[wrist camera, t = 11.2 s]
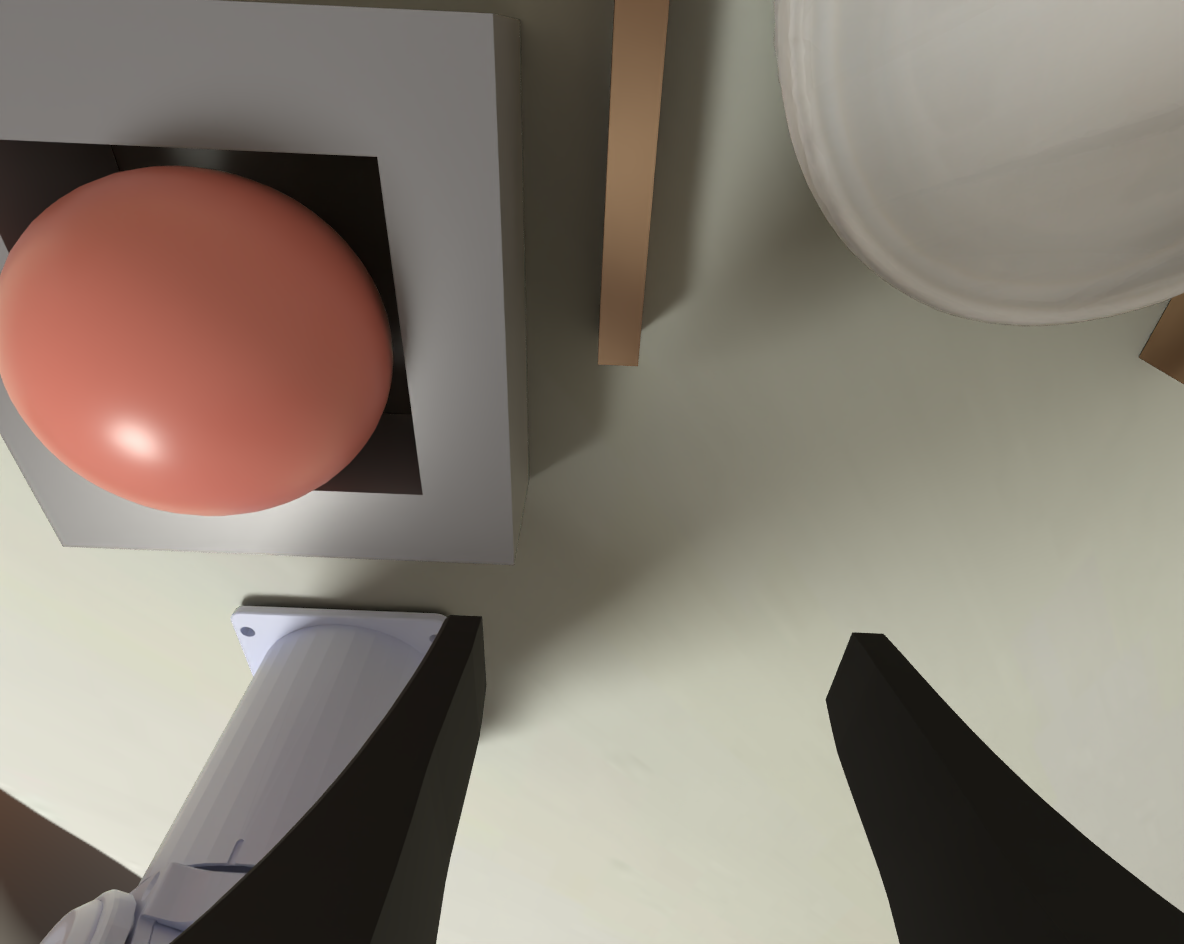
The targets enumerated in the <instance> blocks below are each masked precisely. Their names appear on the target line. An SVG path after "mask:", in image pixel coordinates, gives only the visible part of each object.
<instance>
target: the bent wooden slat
mask: <svg viewBox="0 0 1184 944" xmlns="http://www.w3.org/2000/svg"><path fill="white" fill-rule="evenodd" d="M668 11H669V0H614V20H613V41H612V62H611V83H610V104H609V125H608V147H607V168H606V189H605V210H604V231H603V252H602V273H601V294H600V316H599V340H598V364H600V365H623V366H638V360H639V348H640V336H641V325H642V313H643V302H644V290H645V278H646V267H647V255H648V244H649V232H650V220H651V209H652V197H653V185H654V174H655V162H656V151H657V139H658V127H659V116H660V104H661V93H662V81H663V69H664V58H665V46H666V35H667V23H668ZM1139 358H1140V359H1142V360H1144V361H1146V362H1147V363H1149V364H1151V365H1152V366H1154V367H1156V368H1157V369H1159V370H1161V371H1162V372H1164V373H1166V374H1167V375H1169V376H1171V377H1172V378H1174V379H1176V380H1177V381H1179V382H1181V383H1182V384H1184V293H1182V294H1180V295H1178V296H1175V297H1173V298H1172V299H1171V301H1170V302H1169V304H1168V306H1167V308H1166V310H1165V311H1164V313H1163V315H1162V317H1161V319H1160V320H1159V322H1158V324H1157V326H1156V328H1155V329H1154V331H1153V333H1152V335H1151V336H1150V338H1149V340H1148V342H1147V344H1146V345H1145V347H1144V349H1143V351H1142V353H1141V354H1140V356H1139Z"/></svg>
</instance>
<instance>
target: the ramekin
mask: <svg viewBox="0 0 1184 944" xmlns="http://www.w3.org/2000/svg"><path fill="white" fill-rule="evenodd" d="M774 14H775V29H774V47H775V52H776V56H777V64H778V79H779V83H780V85H781V89H782V97H783V103H784V108H785V113H786V119H787V124H788V128H789V133H790V137H791V140H792V144H793V147H794V151H795V154H796V157H797V160H798V162H799V165H800V167H801V170H802V172H803V175H804V177H805V180H806V182H807V184H808V187H809V188H810V190H811V192H812V194H813V196H814V198H815V200H816V202H817V204H818V206H819V207H820V209H821V211H822V213H823V214H824V216H825V218H826V219H827V221H828V222H829V223H830V225H831V226H832V228H833V229H834V231H835V232H836V233H837V235H838V236H839V238H840V239H841V240H842V241H843V242H844V244H845V245H846V246H847V247H848V248H849V249H850V251H851V252H852V253H853V254H854V255H856V256H857V257H858V258H859V259H860V260H861V261H862V262H863V263H864V264H865V265H866V266H867V267H868V268H869V269H870V270H872V271H873V272H874V273H876V274H877V275H878V276H879V277H881V278H882V279H883V280H884V281H886V282H887V283H889V284H890V285H892V286H893V287H895V288H896V289H898V290H900V291H901V292H903V293H905V294H906V295H908V296H910V297H911V298H913V299H915V300H917V301H919V302H921V303H923V304H926V305H928V306H930V307H932V308H935V309H937V310H940V311H942V312H945V313H948V314H951V315H954V316H958V317H962V318H966V319H971V320H976V321H981V322H986V323H993V324H1004V325H1017V326H1048V325H1059V324H1070V323H1077V322H1083V321H1089V320H1094V319H1100V318H1105V317H1110V316H1115V315H1120V314H1123V313H1127V312H1130V311H1134V310H1138V309H1141V308H1144V307H1148V306H1151V305H1154V304H1157V303H1160V302H1163V301H1165V300H1168V299H1170V298H1173V297H1175V296H1178V295H1180V294H1182V293H1184V0H774Z"/></svg>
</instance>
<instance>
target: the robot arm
mask: <svg viewBox="0 0 1184 944" xmlns="http://www.w3.org/2000/svg"><path fill="white" fill-rule="evenodd" d="M231 622H232V624H233V627H234V629H235V632H236V634H237V637H238V640H239V642H240V645H241V647H242V650H243V652H244V655H245V657H246V660H247V662H248V665H249V667H250V670H251V672H252V675H253V679H252V680H251V682H250V684H249V686H248V688H247V690H246V691H245V693H244V695H243V697H242V699H241V700H240V702H239V704H238V706H237V708H236V709H235V711H234V713H233V715H232V717H231V719H230V720H229V722H228V724H227V726H226V728H225V729H224V731H223V733H222V735H221V737H220V738H219V740H218V742H217V744H216V746H215V748H214V749H213V751H212V753H211V755H210V757H209V758H208V760H207V762H206V764H205V766H204V767H203V769H202V771H201V773H200V775H199V776H198V778H197V780H196V782H195V784H194V786H193V787H192V789H191V791H190V793H189V795H188V796H187V798H186V800H185V802H184V804H183V805H182V807H181V809H180V811H179V813H178V815H177V816H176V818H175V820H174V822H173V824H172V825H171V827H170V829H169V831H168V833H167V834H166V836H165V838H164V840H163V842H162V844H161V845H160V847H159V849H158V851H157V853H156V854H155V856H154V858H153V860H152V862H151V863H150V865H149V867H148V869H147V871H146V873H145V874H144V876H143V878H142V880H141V882H140V884H139V885H138V887H137V888H136V889H134V890H133V891H132V892H131V893H129V894H128V893H125V892H122V891H119V890H110V891H107V892H105V893H103V894H101V895H100V896H99V897H97V898H96V899H95V900H93V901H91V902H89V903H86V904H84V905H82V906H80V907H78V908H76V909H74V910H72V911H70V912H69V913H68V914H67V915H65V916H64V917H63V918H62V919H61V920H60V921H59V922H58V923H57V924H56V925H55V926H54V928H53V929H52V930H51V931H50V932H49V934H48V935H47V936H46V937H45V938H44V939H43V941H42V942H41V943H40V944H436V939H437V933H438V927H439V920H440V914H441V907H442V901H443V894H444V888H445V882H446V877H447V872H448V867H449V862H450V857H451V853H452V849H453V845H454V841H455V836H456V832H457V828H458V824H459V820H460V816H461V812H462V808H463V804H464V799H465V795H466V791H467V787H468V783H469V779H470V775H471V770H472V766H473V762H474V758H475V754H476V750H477V745H478V741H479V736H480V729H481V722H482V715H483V707H484V699H485V692H486V673H485V657H484V641H483V625H482V617H480V616H457V615H450V616H449V617H446V616H444V615H441V614H437V613H413V612H388V611H363V610H339V609H314V608H289V607H264V606H240V607H238V608H236V610H235V611H234V613H233V614H232V616H231ZM435 634H436V635H435ZM826 703H827V708H828V713H829V718H830V723H831V728H832V732H833V736H834V740H835V744H836V749H837V753H838V755H839V758H840V761H841V764H842V767H843V770H844V773H845V776H846V779H847V782H848V784H849V787H850V790H851V793H852V796H853V799H854V801H855V804H856V807H857V810H858V813H859V815H860V818H861V821H862V824H863V827H864V829H865V832H866V835H867V838H868V841H869V843H870V846H871V849H872V852H873V855H874V857H875V860H876V863H877V866H878V868H879V871H880V874H881V878H882V881H883V884H884V887H885V890H886V893H887V897H888V900H889V904H890V908H891V912H892V916H893V919H894V923H895V927H896V931H897V935H898V939H899V943H900V944H1184V913H1183V912H1181V911H1180V910H1179V909H1177V908H1176V907H1175V906H1173V905H1172V904H1171V903H1169V902H1168V901H1167V900H1165V899H1164V898H1162V897H1161V896H1160V895H1158V894H1157V893H1156V892H1155V891H1153V890H1152V889H1151V888H1149V887H1148V886H1147V885H1146V884H1144V883H1143V882H1142V881H1140V880H1139V879H1138V878H1137V877H1135V876H1134V875H1133V874H1131V873H1130V872H1129V871H1128V870H1126V869H1125V868H1124V867H1123V866H1121V865H1120V864H1119V863H1117V862H1116V861H1115V860H1114V859H1112V858H1111V857H1110V856H1109V855H1107V854H1106V853H1105V852H1104V851H1102V850H1101V849H1100V848H1099V847H1098V846H1096V845H1095V844H1094V843H1093V842H1091V841H1090V840H1089V839H1088V838H1087V837H1086V836H1084V835H1083V834H1082V833H1081V832H1080V831H1079V830H1077V829H1076V828H1075V827H1074V826H1073V825H1072V824H1071V823H1069V822H1068V821H1067V820H1066V819H1065V818H1064V817H1062V816H1061V815H1060V814H1059V813H1058V812H1057V811H1056V810H1054V809H1053V808H1052V807H1051V806H1050V805H1049V804H1048V803H1046V802H1045V801H1044V800H1043V799H1042V798H1041V797H1040V796H1039V795H1038V794H1037V793H1035V792H1034V791H1033V790H1032V789H1031V788H1030V787H1029V786H1028V785H1027V784H1026V783H1025V782H1024V781H1023V780H1022V779H1021V778H1020V777H1019V776H1017V775H1016V774H1015V773H1014V772H1013V771H1012V770H1011V769H1010V768H1009V767H1008V766H1007V765H1006V764H1005V763H1004V762H1003V761H1002V760H1001V759H1000V758H999V757H998V756H997V755H996V754H995V753H994V752H993V751H992V750H991V749H990V748H989V747H988V746H987V745H986V744H985V743H984V742H983V741H982V740H981V739H980V738H979V737H978V736H977V735H976V734H975V733H974V732H973V731H972V730H971V729H970V728H969V727H968V726H967V725H966V724H965V722H964V721H963V720H962V719H961V718H960V717H959V716H958V715H957V714H956V713H955V712H954V711H953V710H952V709H951V708H950V707H949V705H948V704H947V703H946V702H945V701H944V700H943V699H942V698H941V697H940V696H939V695H938V693H937V692H936V691H935V690H934V689H933V688H932V687H931V686H930V685H929V684H928V682H927V681H926V680H925V679H924V678H923V677H922V676H921V675H920V674H919V673H918V671H917V670H916V669H915V668H914V667H913V666H912V665H911V664H910V662H909V661H908V660H907V659H906V658H905V657H904V656H903V655H902V654H901V652H900V651H899V650H898V649H897V648H896V647H895V646H894V645H893V644H892V643H891V641H890V640H889V639H888V638H887V637H886V636H885V635H884V634H875V633H852V635H851V637H850V640H849V642H848V645H847V647H846V650H845V652H844V655H843V657H842V660H841V662H840V665H839V667H838V670H837V672H836V675H835V677H834V680H833V682H832V685H831V688H830V690H829V693H828V695H827V698H826Z"/></svg>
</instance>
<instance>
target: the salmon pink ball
mask: <svg viewBox="0 0 1184 944" xmlns="http://www.w3.org/2000/svg"><path fill="white" fill-rule="evenodd" d="M392 372H393V346H392V336H391V331H390V326H389V321H388V316H387V313H386V310H385V307H384V304H383V301H382V298H381V296H380V294H379V292H378V290H377V287H376V285H375V283H374V281H373V279H372V277H371V276H370V274H369V273H368V271H367V269H366V268H365V266H364V265H363V263H362V262H361V260H360V259H359V257H358V256H357V255H356V254H355V252H354V251H353V250H352V249H351V247H350V246H349V245H348V244H347V242H346V241H345V240H344V239H343V238H342V237H341V236H340V235H339V234H338V233H337V232H336V231H335V230H334V229H333V228H332V227H331V226H330V225H328V224H327V223H326V222H325V221H324V220H322V219H321V218H320V217H319V216H318V215H316V214H315V213H314V212H313V211H311V210H310V209H308V208H307V207H305V206H304V205H302V204H301V203H299V202H298V201H296V200H295V199H293V198H291V197H289V196H287V195H285V194H283V193H282V192H280V191H278V190H276V189H274V188H272V187H269V186H267V185H264V184H261V183H259V182H256V181H253V180H251V179H248V178H245V177H243V176H240V175H236V174H232V173H228V172H224V171H220V170H216V169H207V168H199V167H189V166H152V167H145V168H139V169H133V170H128V171H122V172H117V173H113V174H111V175H108V176H105V177H103V178H100V179H97V180H95V181H92V182H90V183H87V184H85V185H82V186H80V187H78V188H76V189H74V190H73V191H71V192H70V193H68V194H66V195H65V196H63V197H61V198H60V199H58V200H57V201H56V202H54V203H53V204H52V205H50V206H49V207H48V208H46V209H45V210H44V211H43V212H42V213H41V214H40V215H39V216H38V217H37V218H36V219H34V220H33V221H32V222H31V224H30V225H29V226H28V227H27V229H26V230H25V231H24V232H23V234H22V235H21V236H20V238H19V239H18V241H17V242H16V244H15V245H14V246H13V248H12V249H11V251H10V253H9V255H8V257H7V260H6V262H5V264H4V267H3V269H2V272H1V274H0V374H1V378H2V381H3V384H4V386H5V388H6V390H7V393H8V395H9V397H10V399H11V401H12V403H13V404H14V406H15V408H16V409H17V411H18V413H19V414H20V416H21V417H22V419H23V420H24V421H25V423H26V424H27V425H28V427H29V428H30V429H31V431H32V432H33V433H34V434H35V436H36V437H37V438H38V439H39V440H40V441H41V442H42V443H43V445H44V446H45V447H46V448H47V449H48V450H49V451H50V452H51V453H52V454H54V455H55V456H56V457H57V458H58V459H59V460H60V461H61V462H63V463H64V464H65V465H66V466H68V467H69V468H70V469H71V470H73V471H74V472H76V473H77V474H79V475H80V476H82V477H83V478H85V479H86V480H88V481H89V482H91V483H93V484H95V485H96V486H98V487H100V488H102V489H104V490H106V491H108V492H110V493H112V494H115V495H117V496H119V497H121V498H124V499H126V500H129V501H132V502H134V503H137V504H140V505H142V506H146V507H150V508H153V509H157V510H161V511H166V512H172V513H178V514H188V515H199V516H228V515H237V514H245V513H253V512H258V511H262V510H266V509H270V508H273V507H276V506H279V505H283V504H285V503H288V502H290V501H293V500H296V499H298V498H300V497H302V496H304V495H306V494H308V493H309V492H311V491H313V490H315V489H316V488H318V487H320V486H322V485H323V484H325V483H327V482H328V481H329V480H330V479H332V478H333V477H334V476H335V475H337V474H338V473H339V472H340V471H341V470H343V469H344V468H345V467H346V466H347V465H348V464H349V463H350V462H351V461H352V460H353V459H354V458H355V457H356V456H357V454H358V453H359V452H360V451H361V450H362V448H363V447H364V446H365V444H366V443H367V442H368V440H369V438H370V437H371V435H372V434H373V432H374V430H375V429H376V427H377V425H378V422H379V420H380V418H381V415H382V413H383V410H384V408H385V406H386V403H387V399H388V395H389V391H390V386H391V380H392Z"/></svg>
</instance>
